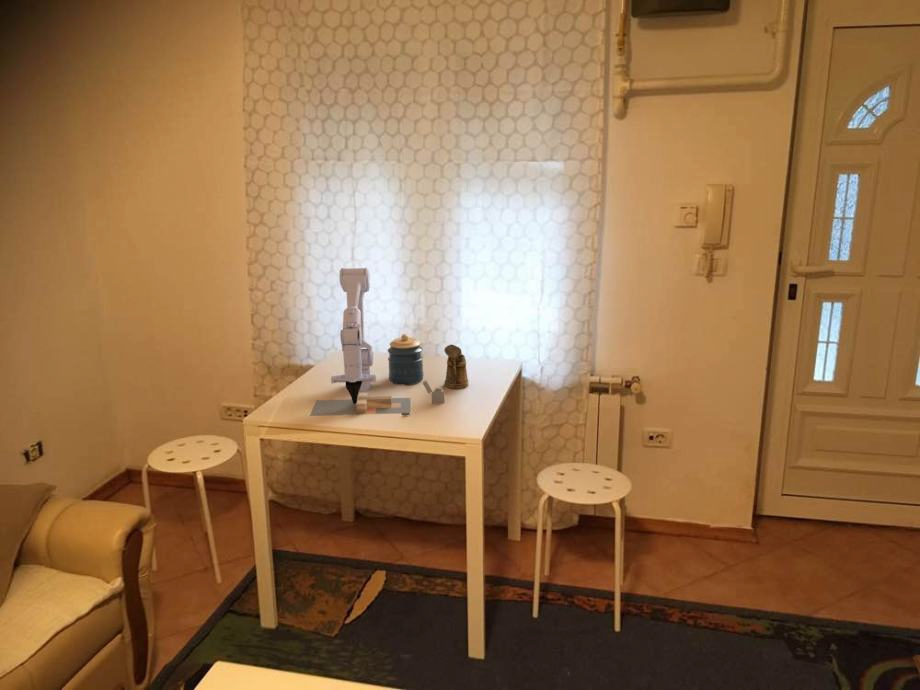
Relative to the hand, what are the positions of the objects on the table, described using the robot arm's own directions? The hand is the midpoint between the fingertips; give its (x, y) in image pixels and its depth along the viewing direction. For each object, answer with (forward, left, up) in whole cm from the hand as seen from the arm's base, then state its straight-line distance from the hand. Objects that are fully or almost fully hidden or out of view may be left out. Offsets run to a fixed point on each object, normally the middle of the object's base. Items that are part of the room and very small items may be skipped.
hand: (355, 402), depth 229 cm
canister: (-29, +16, -3) cm, 33 cm away
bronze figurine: (-19, +34, -3) cm, 39 cm away
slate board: (0, +2, -2) cm, 3 cm away
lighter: (-4, +26, -3) cm, 27 cm away
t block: (0, +7, -1) cm, 7 cm away
